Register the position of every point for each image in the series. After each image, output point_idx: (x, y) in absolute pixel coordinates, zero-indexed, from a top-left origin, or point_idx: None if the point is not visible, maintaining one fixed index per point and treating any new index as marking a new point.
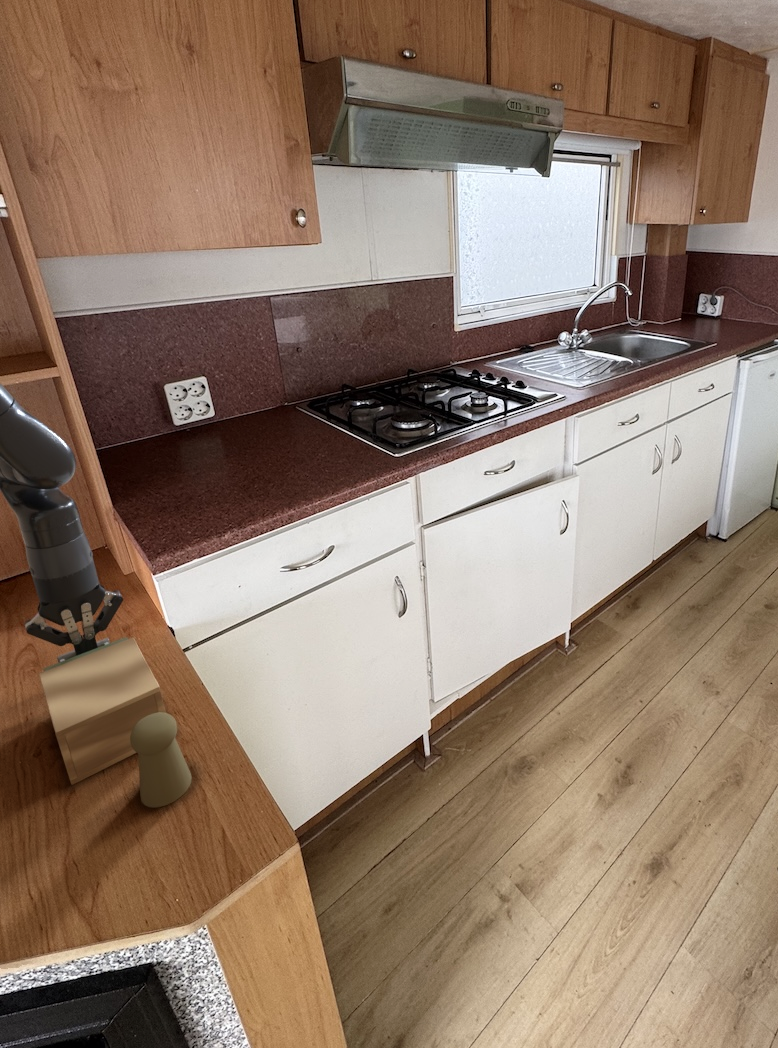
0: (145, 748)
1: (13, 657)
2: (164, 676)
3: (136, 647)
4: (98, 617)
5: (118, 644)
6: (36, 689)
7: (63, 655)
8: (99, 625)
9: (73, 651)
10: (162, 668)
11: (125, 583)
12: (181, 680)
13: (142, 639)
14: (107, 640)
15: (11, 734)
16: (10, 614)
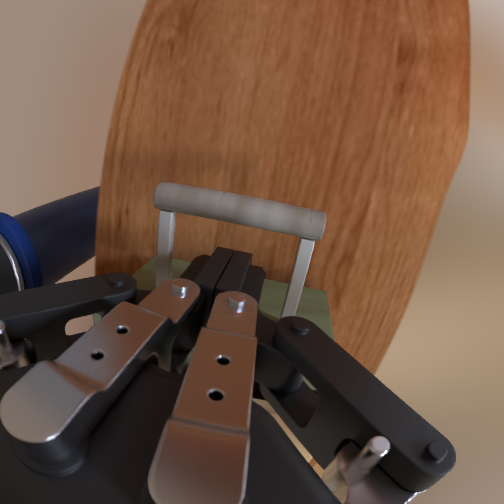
0: None
1: None
2: (360, 328)
3: (308, 456)
4: (292, 361)
5: (285, 424)
6: (151, 128)
7: (171, 203)
8: (267, 399)
9: (202, 208)
10: (375, 301)
11: None
12: (367, 361)
13: (414, 141)
14: (315, 239)
15: (96, 244)
16: None
